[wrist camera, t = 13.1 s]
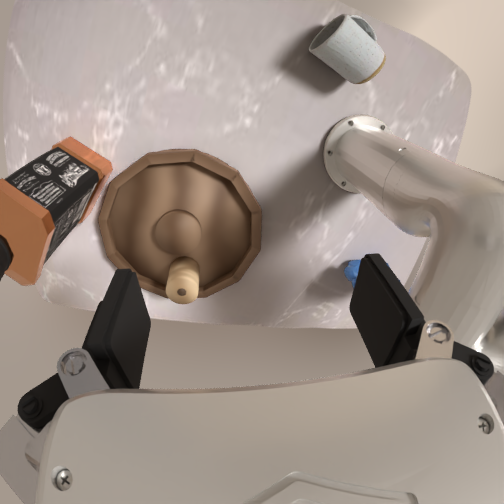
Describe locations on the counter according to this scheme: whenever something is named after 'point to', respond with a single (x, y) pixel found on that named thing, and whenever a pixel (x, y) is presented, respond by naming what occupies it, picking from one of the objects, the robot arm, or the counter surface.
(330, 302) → the counter surface
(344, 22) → the ceramic mug
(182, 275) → the bead
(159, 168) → the ring tray
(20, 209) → the whiskey bottle
